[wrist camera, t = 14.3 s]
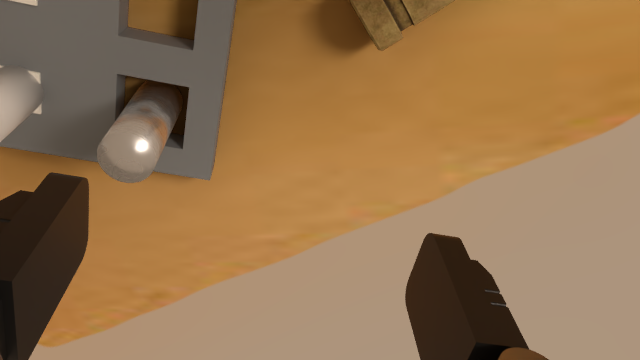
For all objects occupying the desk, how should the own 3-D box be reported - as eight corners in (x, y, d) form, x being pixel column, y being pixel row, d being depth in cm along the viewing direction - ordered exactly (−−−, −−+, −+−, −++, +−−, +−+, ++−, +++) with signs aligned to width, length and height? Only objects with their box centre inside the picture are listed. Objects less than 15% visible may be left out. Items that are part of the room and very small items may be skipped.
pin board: (264, -196, 33) (254, -224, 24) (213, 165, 46) (194, 238, 36) (-48, -280, 31) (-191, -347, 21) (-12, 128, 43) (-93, 196, 34)
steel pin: (184, 83, 42) (157, 137, 33) (180, 124, 44) (153, 186, 35) (137, 74, 41) (97, 127, 33) (135, 116, 43) (96, 177, 34)
